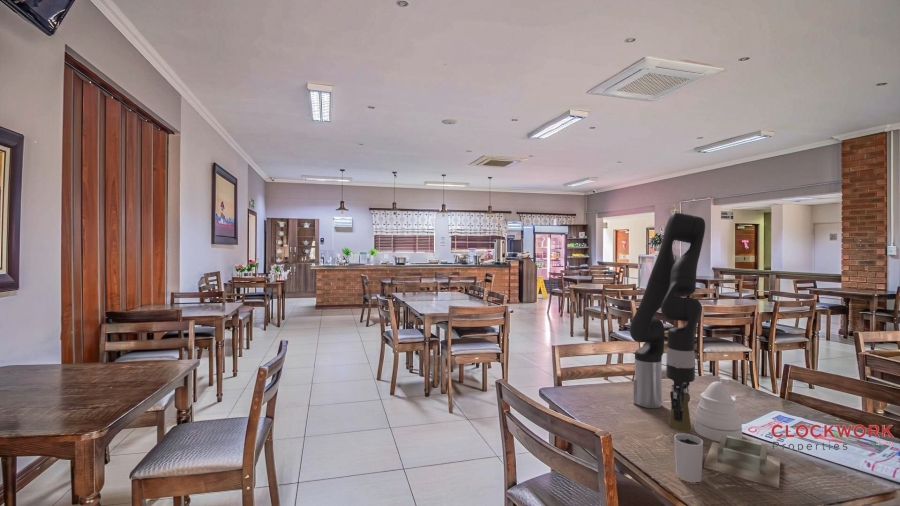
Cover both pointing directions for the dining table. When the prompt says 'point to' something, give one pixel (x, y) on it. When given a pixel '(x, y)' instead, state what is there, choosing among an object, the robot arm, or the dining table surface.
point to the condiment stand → (744, 460)
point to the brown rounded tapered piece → (685, 422)
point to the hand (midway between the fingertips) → (679, 419)
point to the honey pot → (717, 413)
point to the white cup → (688, 456)
